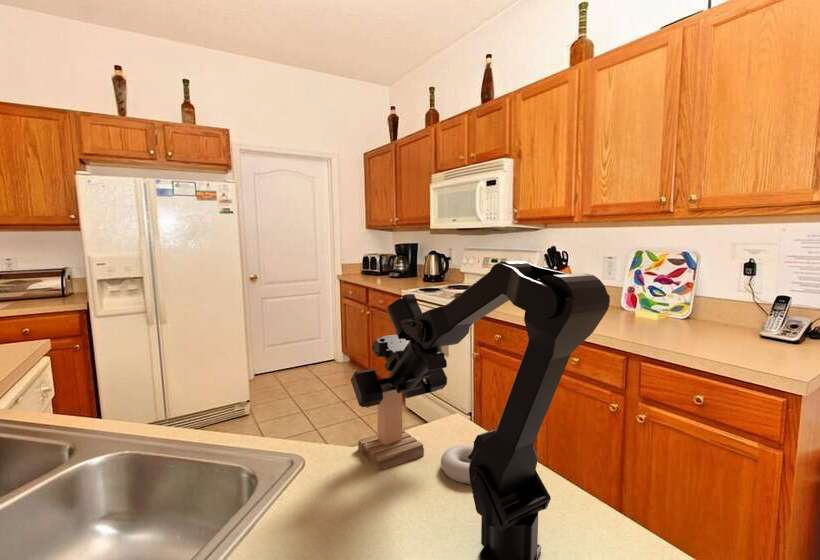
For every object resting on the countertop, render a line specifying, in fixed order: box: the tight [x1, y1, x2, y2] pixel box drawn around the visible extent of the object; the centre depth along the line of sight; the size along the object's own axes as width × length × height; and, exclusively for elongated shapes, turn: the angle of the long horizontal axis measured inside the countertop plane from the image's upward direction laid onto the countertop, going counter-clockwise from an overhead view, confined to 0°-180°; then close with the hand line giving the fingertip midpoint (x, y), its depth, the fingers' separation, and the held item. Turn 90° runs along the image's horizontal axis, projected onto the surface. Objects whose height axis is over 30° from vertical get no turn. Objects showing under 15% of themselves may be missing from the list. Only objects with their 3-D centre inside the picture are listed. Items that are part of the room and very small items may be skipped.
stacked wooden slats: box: [357, 428, 425, 471], centre depth 80 cm, size 9×10×2 cm
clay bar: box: [377, 390, 403, 445], centre depth 80 cm, size 3×4×11 cm
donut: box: [440, 444, 474, 485], centre depth 73 cm, size 10×4×10 cm
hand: (386, 400), depth 82 cm, fingers open, 9 cm apart
